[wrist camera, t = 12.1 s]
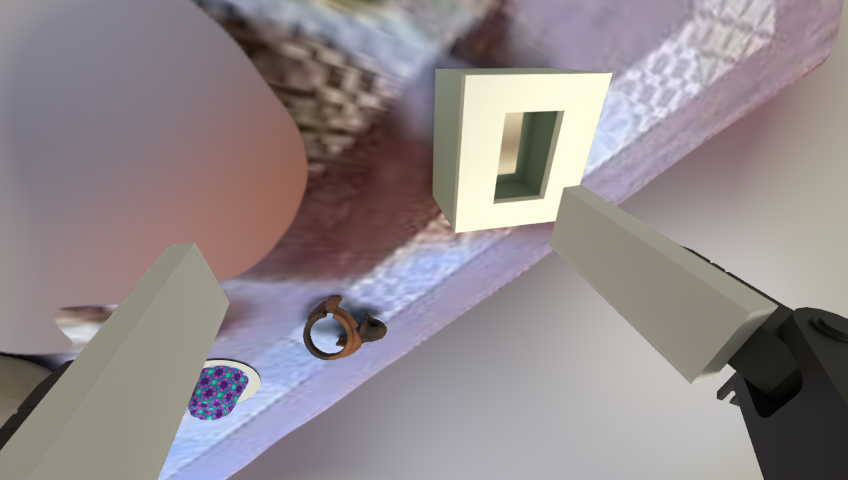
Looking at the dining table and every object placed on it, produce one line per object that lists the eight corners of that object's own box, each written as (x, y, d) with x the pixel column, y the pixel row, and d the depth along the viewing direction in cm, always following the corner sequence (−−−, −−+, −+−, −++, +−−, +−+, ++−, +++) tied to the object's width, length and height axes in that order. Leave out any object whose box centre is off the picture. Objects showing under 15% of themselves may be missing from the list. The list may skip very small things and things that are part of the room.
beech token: (475, 107, 35) (489, 113, 32) (507, 105, 36) (523, 111, 33) (472, 165, 39) (484, 176, 36) (500, 162, 40) (514, 172, 37)
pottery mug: (325, 343, 52) (301, 369, 44) (317, 290, 51) (292, 307, 43) (393, 340, 51) (383, 366, 43) (387, 285, 50) (375, 301, 41)
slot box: (434, 68, 33) (465, 75, 25) (549, 67, 36) (612, 73, 27) (432, 195, 41) (455, 232, 33) (526, 187, 44) (569, 219, 35)
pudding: (263, 397, 55) (257, 426, 51) (186, 404, 52) (172, 437, 47) (258, 353, 49) (250, 382, 45) (170, 359, 46) (152, 391, 42)
